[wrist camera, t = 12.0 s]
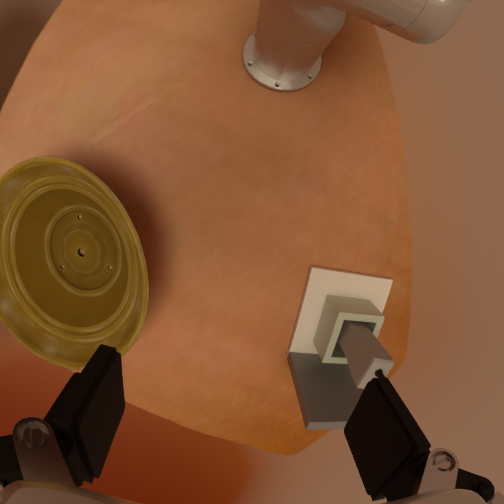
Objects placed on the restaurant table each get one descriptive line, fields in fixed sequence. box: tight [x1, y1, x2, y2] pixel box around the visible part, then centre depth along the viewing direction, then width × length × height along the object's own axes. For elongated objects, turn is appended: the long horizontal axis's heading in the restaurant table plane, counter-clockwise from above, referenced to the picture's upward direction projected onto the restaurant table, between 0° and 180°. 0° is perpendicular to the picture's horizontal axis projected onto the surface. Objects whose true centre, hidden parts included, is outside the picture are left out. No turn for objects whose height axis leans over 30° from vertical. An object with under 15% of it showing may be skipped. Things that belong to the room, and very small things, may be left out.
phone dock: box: [286, 265, 393, 429], centre depth 43 cm, size 18×16×19 cm
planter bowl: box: [0, 156, 149, 370], centre depth 40 cm, size 32×32×13 cm
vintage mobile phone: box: [337, 320, 394, 389], centre depth 39 cm, size 4×5×25 cm
